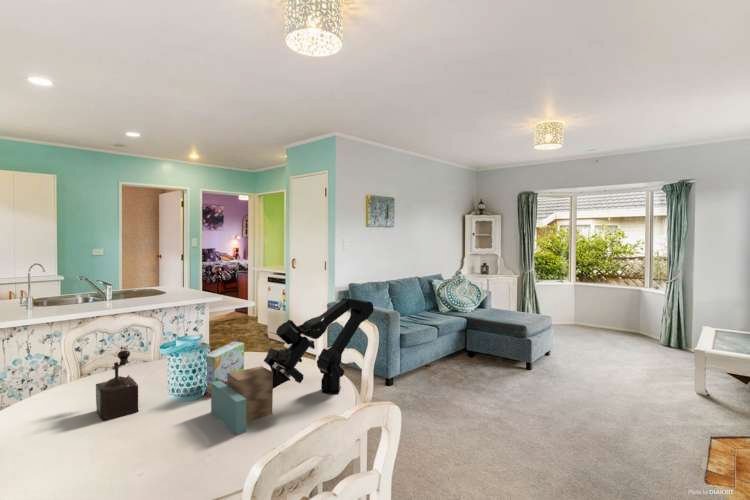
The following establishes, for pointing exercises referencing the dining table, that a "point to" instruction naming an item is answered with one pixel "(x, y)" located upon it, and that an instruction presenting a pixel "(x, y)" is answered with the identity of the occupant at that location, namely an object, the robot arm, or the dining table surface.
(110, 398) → the pepper mill
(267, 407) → the walnut block
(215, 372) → the snack box
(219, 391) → the teal board
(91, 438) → the dining table surface
